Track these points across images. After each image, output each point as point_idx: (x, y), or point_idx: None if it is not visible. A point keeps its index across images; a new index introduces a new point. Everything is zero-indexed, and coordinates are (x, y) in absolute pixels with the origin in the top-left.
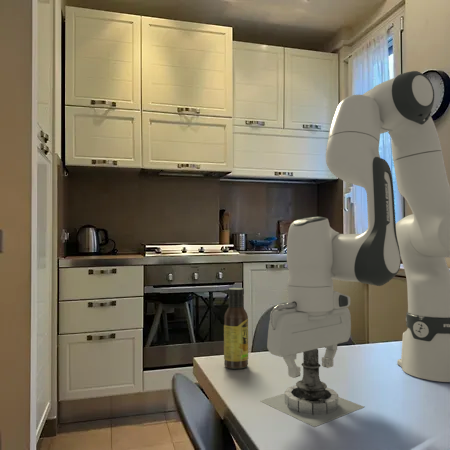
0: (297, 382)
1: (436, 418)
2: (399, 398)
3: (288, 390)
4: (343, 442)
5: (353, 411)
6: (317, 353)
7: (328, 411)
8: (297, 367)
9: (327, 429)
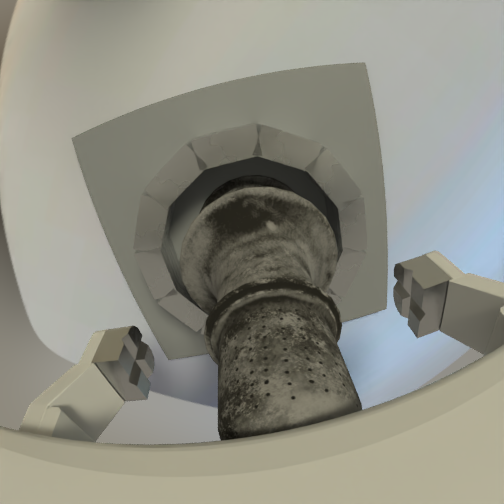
0: (205, 217)
1: (443, 362)
2: (491, 269)
3: (168, 181)
4: (206, 398)
5: None
6: None
7: None
8: (128, 396)
9: (205, 357)
